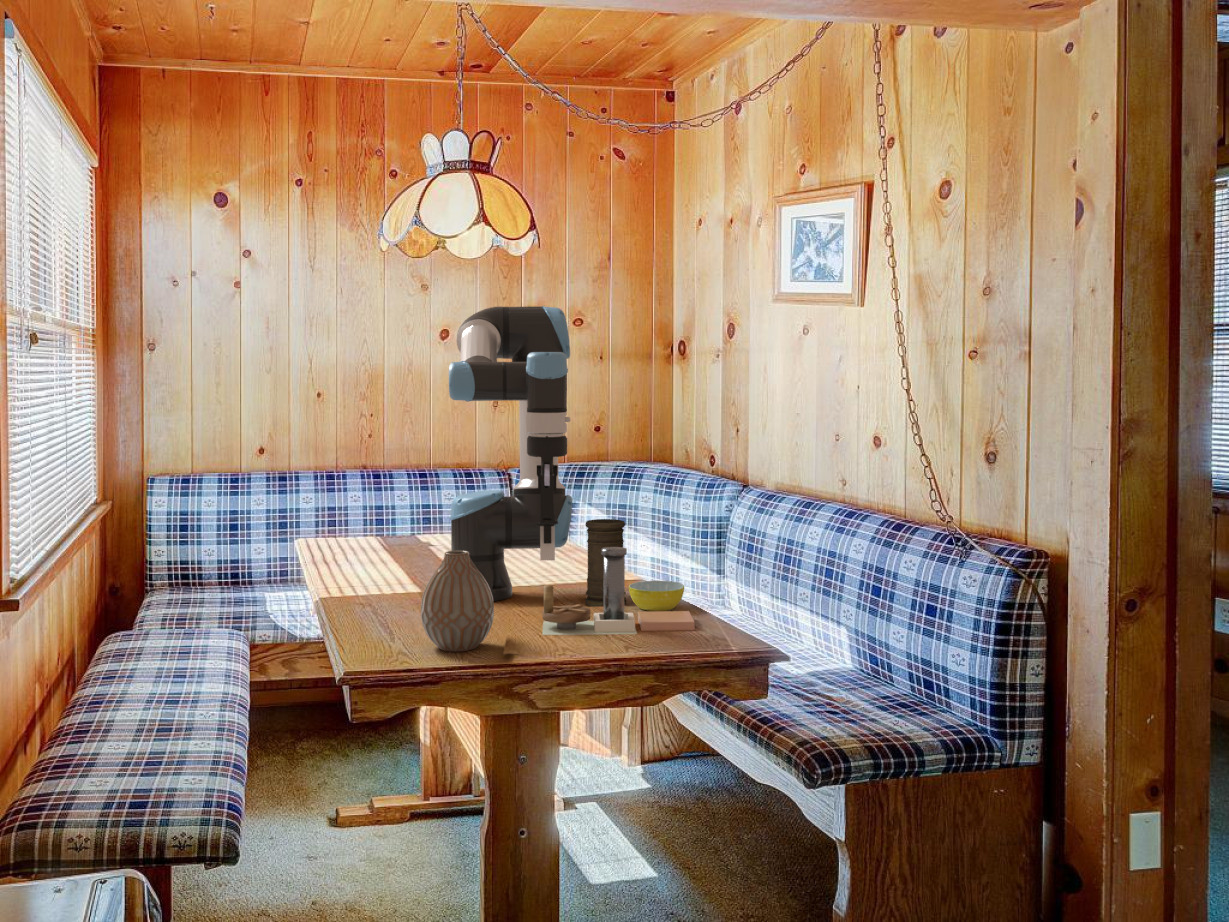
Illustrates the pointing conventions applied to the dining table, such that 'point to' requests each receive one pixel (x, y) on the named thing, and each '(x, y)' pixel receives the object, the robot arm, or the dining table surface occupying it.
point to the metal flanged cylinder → (614, 582)
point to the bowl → (656, 595)
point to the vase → (457, 604)
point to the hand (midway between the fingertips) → (547, 559)
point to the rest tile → (666, 620)
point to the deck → (592, 626)
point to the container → (600, 555)
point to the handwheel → (562, 610)
